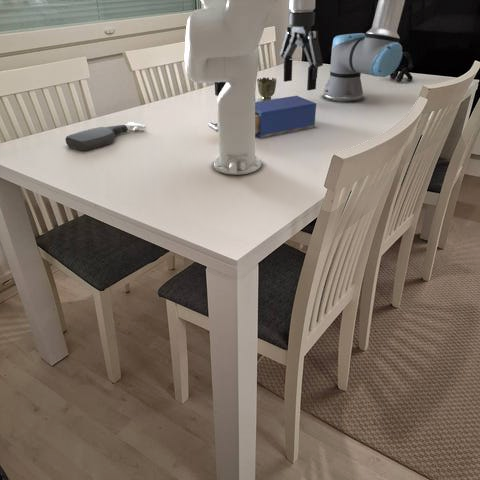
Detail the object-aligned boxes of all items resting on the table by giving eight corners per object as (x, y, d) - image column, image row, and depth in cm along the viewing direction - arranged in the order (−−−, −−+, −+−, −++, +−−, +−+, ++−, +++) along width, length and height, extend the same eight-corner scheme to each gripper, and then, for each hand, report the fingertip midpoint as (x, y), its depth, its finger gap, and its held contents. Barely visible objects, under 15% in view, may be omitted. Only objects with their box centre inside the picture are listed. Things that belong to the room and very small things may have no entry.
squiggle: (400, 92, 202) (376, 71, 205) (417, 76, 202) (392, 56, 205) (405, 81, 191) (380, 59, 194) (423, 64, 191) (397, 42, 194)
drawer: (219, 142, 133) (218, 122, 130) (206, 132, 140) (205, 113, 137) (288, 128, 142) (289, 110, 139) (272, 120, 150) (272, 102, 147)
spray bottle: (63, 145, 135) (128, 126, 151) (84, 153, 129) (149, 132, 145) (61, 135, 134) (127, 117, 150) (83, 143, 128) (148, 123, 144)
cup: (253, 101, 174) (253, 80, 169) (261, 97, 179) (262, 76, 175) (271, 103, 171) (271, 82, 166) (279, 99, 176) (279, 78, 172)
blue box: (260, 137, 138) (261, 112, 134) (244, 128, 147) (243, 104, 143) (314, 127, 146) (316, 103, 142) (295, 118, 155) (296, 95, 150)
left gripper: (243, 29, 118) (244, 99, 128) (219, 23, 129) (221, 88, 139) (217, 31, 115) (220, 103, 125) (195, 25, 126) (199, 91, 136)
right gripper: (338, 13, 123) (332, 91, 134) (289, 7, 142) (288, 76, 153) (316, 15, 120) (312, 95, 132) (269, 8, 139) (269, 79, 151)
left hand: (221, 95), depth 132 cm, fingers closed
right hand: (299, 85), depth 143 cm, fingers open, 13 cm apart
